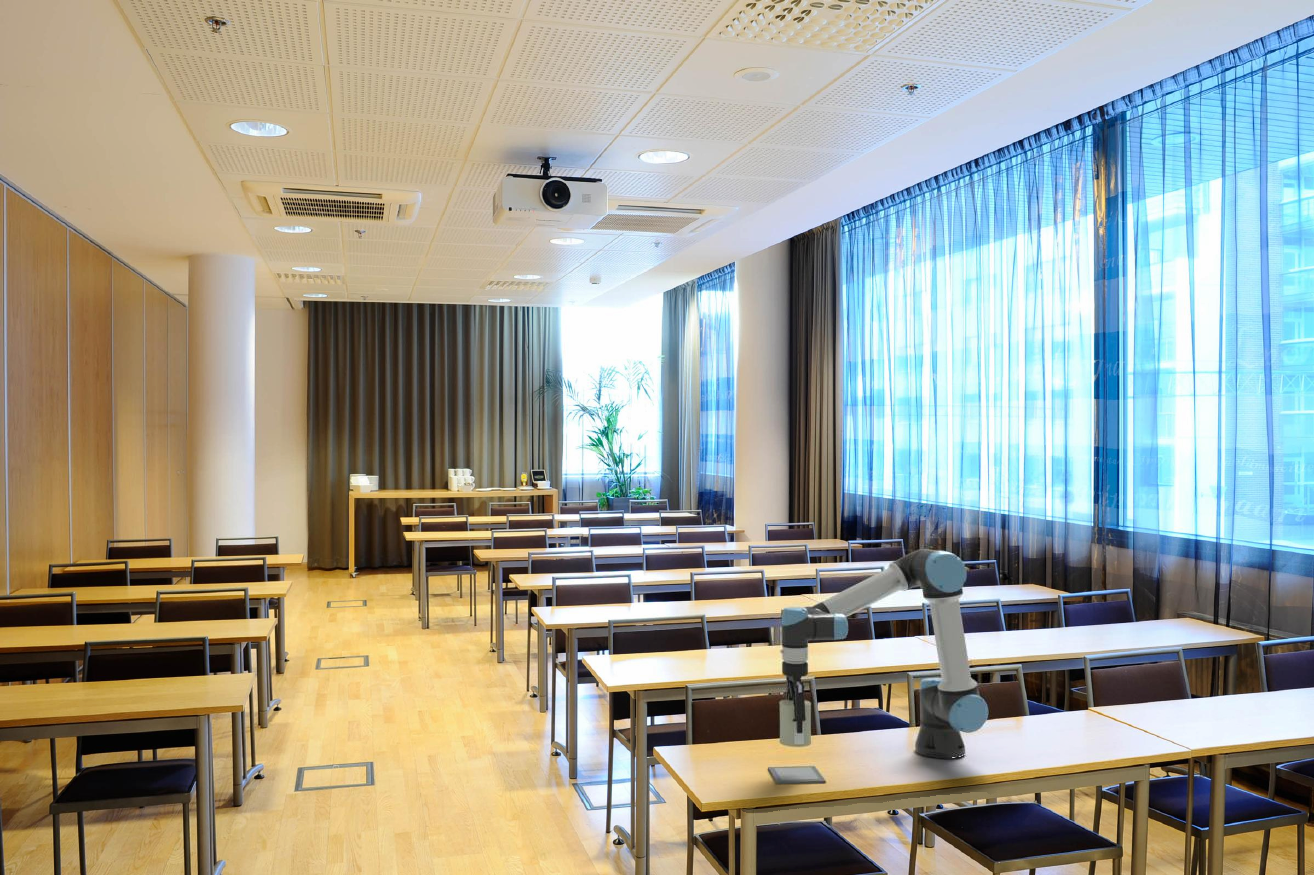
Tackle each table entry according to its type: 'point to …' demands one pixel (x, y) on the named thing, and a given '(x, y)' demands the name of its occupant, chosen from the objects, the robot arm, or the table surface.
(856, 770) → the table surface
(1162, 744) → the table surface
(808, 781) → the coaster
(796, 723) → the robot arm
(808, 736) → the can
